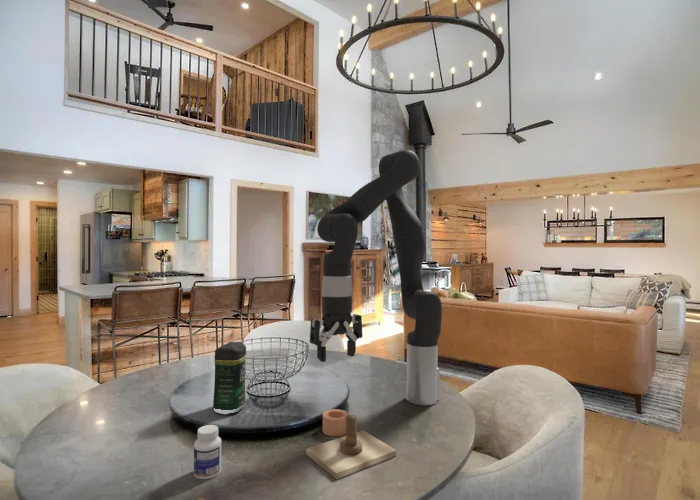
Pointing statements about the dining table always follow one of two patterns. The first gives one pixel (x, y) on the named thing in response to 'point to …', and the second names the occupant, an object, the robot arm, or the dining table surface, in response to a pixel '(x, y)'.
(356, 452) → the post
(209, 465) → the pill bottle
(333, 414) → the ring
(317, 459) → the base board
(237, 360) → the coffee jar
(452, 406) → the dining table surface
